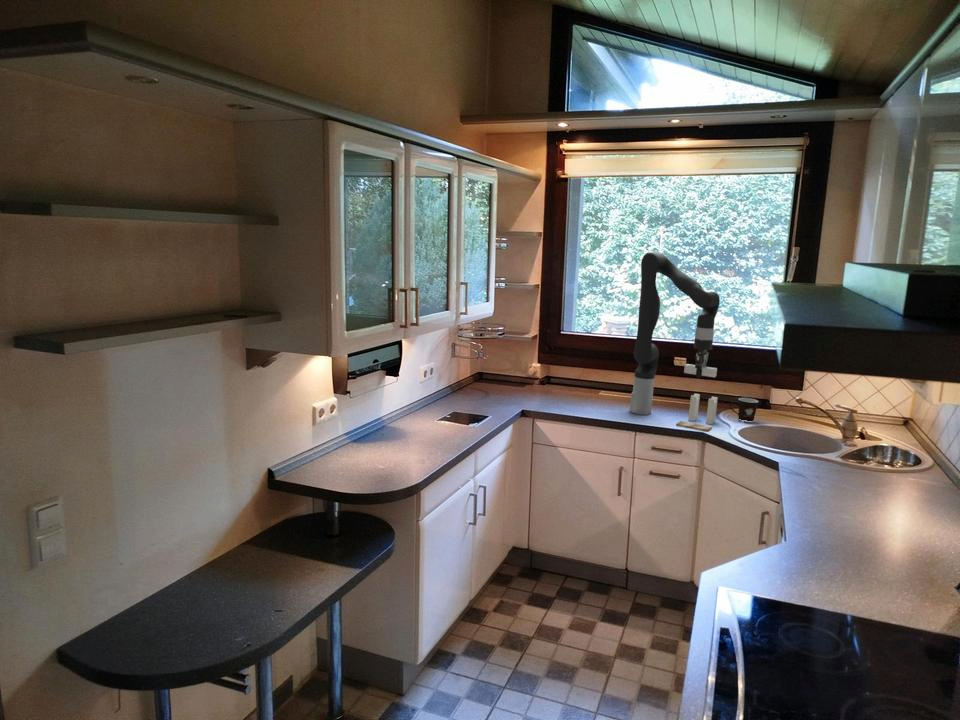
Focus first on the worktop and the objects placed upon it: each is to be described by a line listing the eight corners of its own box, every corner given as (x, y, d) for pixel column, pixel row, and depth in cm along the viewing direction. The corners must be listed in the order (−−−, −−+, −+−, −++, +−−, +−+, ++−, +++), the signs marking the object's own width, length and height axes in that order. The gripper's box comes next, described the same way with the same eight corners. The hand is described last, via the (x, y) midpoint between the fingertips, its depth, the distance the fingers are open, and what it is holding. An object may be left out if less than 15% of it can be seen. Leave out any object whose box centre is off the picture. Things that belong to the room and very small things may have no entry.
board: (676, 425, 295) (676, 423, 295) (680, 422, 300) (680, 420, 300) (708, 431, 288) (708, 430, 288) (711, 428, 293) (711, 426, 293)
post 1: (688, 420, 305) (690, 395, 303) (691, 417, 310) (694, 393, 308) (693, 421, 304) (696, 396, 302) (697, 418, 309) (700, 394, 307)
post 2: (705, 423, 301) (708, 398, 299) (709, 420, 306) (712, 396, 304) (711, 424, 300) (714, 399, 297) (714, 421, 305) (717, 397, 302)
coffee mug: (757, 420, 310) (759, 400, 308) (753, 424, 302) (756, 403, 300) (731, 416, 315) (733, 395, 314) (727, 420, 308) (730, 399, 306)
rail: (684, 372, 292) (684, 365, 291) (686, 371, 294) (687, 363, 294) (714, 377, 285) (715, 369, 284) (716, 376, 288) (717, 368, 287)
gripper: (699, 335, 294) (695, 372, 298) (690, 338, 283) (686, 377, 286) (716, 337, 290) (712, 375, 294) (708, 340, 279) (704, 380, 282)
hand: (699, 376), depth 290 cm, fingers closed on rail, 3 cm apart
